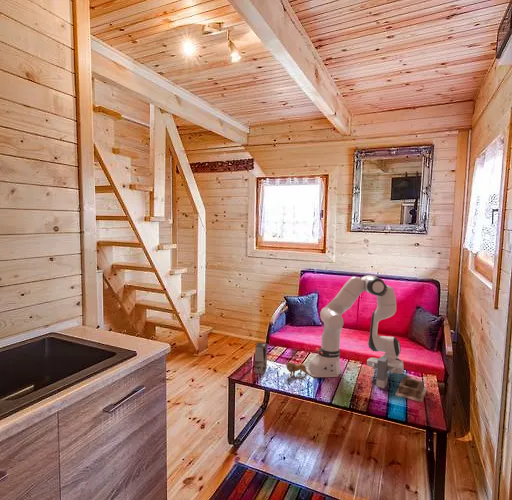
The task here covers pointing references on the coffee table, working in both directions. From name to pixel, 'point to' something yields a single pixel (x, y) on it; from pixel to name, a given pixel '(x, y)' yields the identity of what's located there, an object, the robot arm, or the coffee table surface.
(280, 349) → the coffee table surface
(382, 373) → the rail end
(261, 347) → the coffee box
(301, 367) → the lion figurine
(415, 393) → the post block
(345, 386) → the coffee table surface
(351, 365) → the coffee table surface
